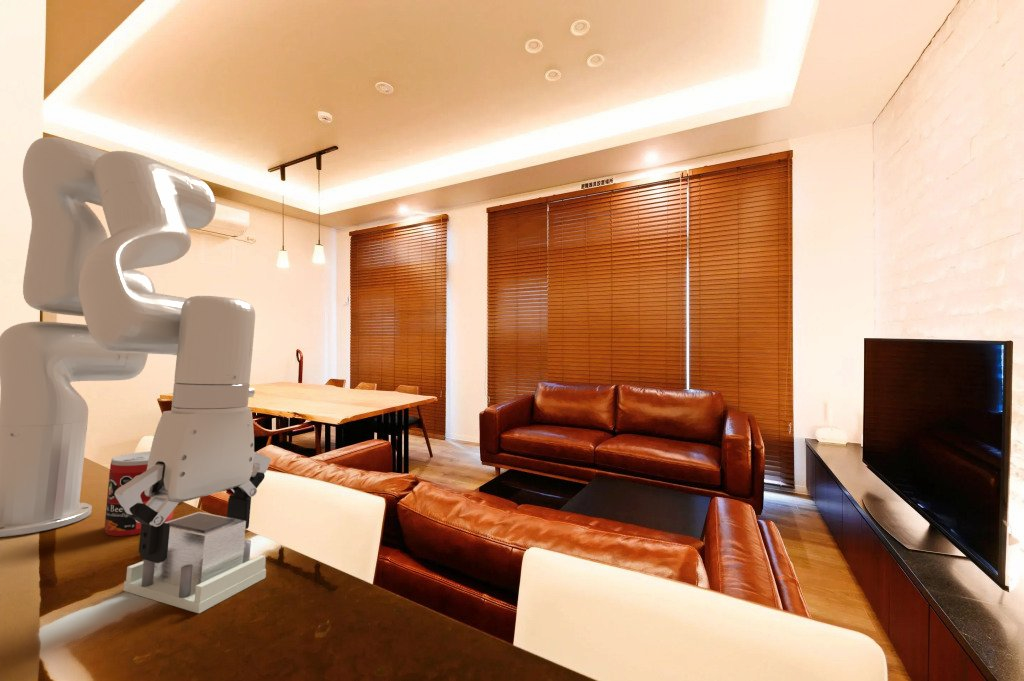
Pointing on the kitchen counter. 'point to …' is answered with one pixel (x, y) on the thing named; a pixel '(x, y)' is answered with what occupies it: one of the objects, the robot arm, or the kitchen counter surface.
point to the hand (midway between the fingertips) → (199, 542)
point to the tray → (205, 593)
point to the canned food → (119, 475)
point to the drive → (202, 547)
